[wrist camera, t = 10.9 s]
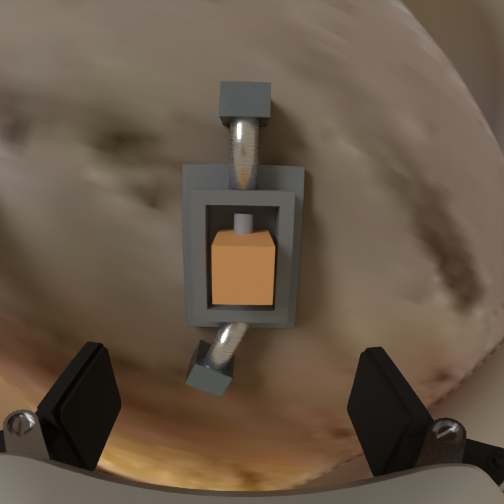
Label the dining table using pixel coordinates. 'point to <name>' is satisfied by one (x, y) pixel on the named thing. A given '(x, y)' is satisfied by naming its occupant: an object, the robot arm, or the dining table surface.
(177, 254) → the dining table surface
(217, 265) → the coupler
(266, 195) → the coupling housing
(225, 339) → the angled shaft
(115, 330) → the dining table surface
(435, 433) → the robot arm
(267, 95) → the straight shaft
